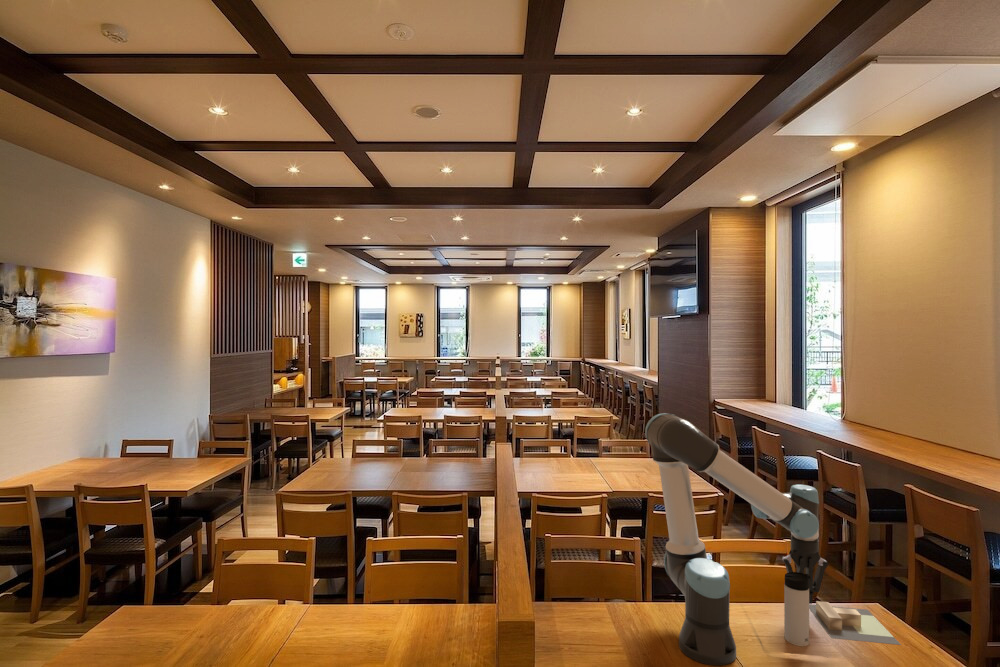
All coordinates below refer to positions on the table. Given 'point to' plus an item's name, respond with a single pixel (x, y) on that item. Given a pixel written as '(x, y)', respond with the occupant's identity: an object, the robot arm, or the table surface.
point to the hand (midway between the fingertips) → (804, 613)
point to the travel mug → (796, 608)
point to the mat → (860, 629)
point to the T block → (837, 616)
